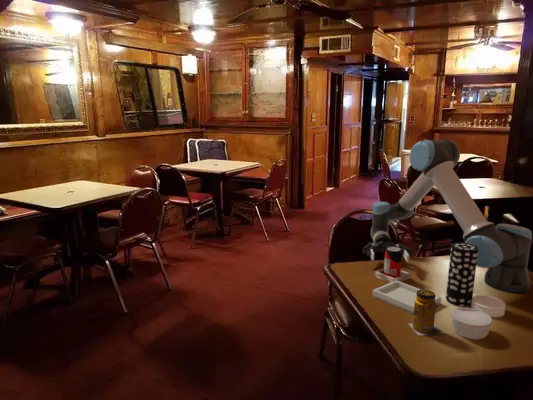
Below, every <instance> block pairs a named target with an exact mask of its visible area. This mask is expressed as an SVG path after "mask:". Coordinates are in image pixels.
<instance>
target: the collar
mask: <svg viewBox="0 0 533 400" xmlns="http://www.w3.org/2000/svg"><path fill="white" fill-rule="evenodd" d="M373 277H374V278H377V279H379V280H381V281H385V282H387V283H391V282H393V281H395V280H397V281H400V282H402V283H404V281H407V280H409V279H411V273H410V272H407V271H404V270H402V269H401V273H400V276H399V277H397V278H392V277H390V276H387V275H384V267H382V268H379V269H378V270H375V271H373Z"/></svg>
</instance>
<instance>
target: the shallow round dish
mask: <svg viewBox="0 0 533 400" xmlns="http://www.w3.org/2000/svg"><path fill="white" fill-rule="evenodd" d="M470 308H471V309H475V310H479V311H481V312H484V313H486V314H487V315H489V316H490V317H491V318H501V317H503V316H504V315H505V313H506V303H505V302H504V301H503V300H502V299H500V298H497V297H495V296H491V295H484V294H479V295H474V296H473V297H472V302H471V305H470Z"/></svg>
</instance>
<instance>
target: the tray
mask: <svg viewBox="0 0 533 400" xmlns="http://www.w3.org/2000/svg"><path fill="white" fill-rule="evenodd" d="M418 290H421V288H419V287H415V286H413V285H410V284H407V283H405V282H400V281H397V280H395V281H393V282H391V283H389V282H387V283H386V284H384V285H381V286H380V287H376V288H374V289H372V295H371V297H372V298H373V299H374V298H375V299H377V300H379V301H381V302H384V303H386V304H388V305H390V306H393V307H395V308H397V309H399V310H400V309H401V310H403V311H405V312H407V313H409V314H412V315H414V303H415V299H416V296H417V291H418ZM441 301H442V297H441V296H440V295H437V294H435V302H436V307H437V306H439V305H440V304H441Z"/></svg>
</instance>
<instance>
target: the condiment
mask: <svg viewBox="0 0 533 400" xmlns="http://www.w3.org/2000/svg"><path fill="white" fill-rule="evenodd" d="M420 289H421V288H420ZM435 295H436V293H435V292H433V290H429V289H424V288H423V289H421V290H418V291H417V296H416V299H415V303H414V314H412V315H413V319H412V322H411V323H410V322H407V325H408V326H409V327H410V328H411V330H413V332H414V333H415V334H416V335H417V336H431V335H432V336H433V335H445V334H446V333H445V332H444V331H443V330H442V329H441V328H440V327H439V326H438V325H437V324H436V323H435V318H436V309H437V308H436V307H437V306H436V302H435Z"/></svg>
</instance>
